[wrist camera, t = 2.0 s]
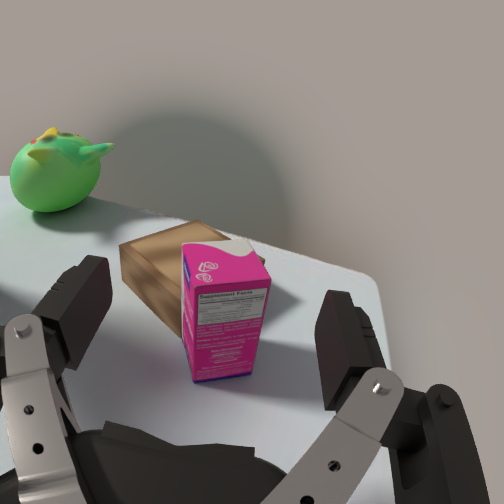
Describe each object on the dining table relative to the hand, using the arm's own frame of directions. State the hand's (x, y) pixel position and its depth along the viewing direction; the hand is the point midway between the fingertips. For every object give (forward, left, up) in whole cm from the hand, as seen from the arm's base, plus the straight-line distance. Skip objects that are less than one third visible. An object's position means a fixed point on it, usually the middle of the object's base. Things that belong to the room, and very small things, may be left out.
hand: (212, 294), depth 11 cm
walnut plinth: (-17, +14, -17) cm, 28 cm away
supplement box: (-7, +9, -17) cm, 21 cm away
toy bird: (-50, +8, -17) cm, 54 cm away
